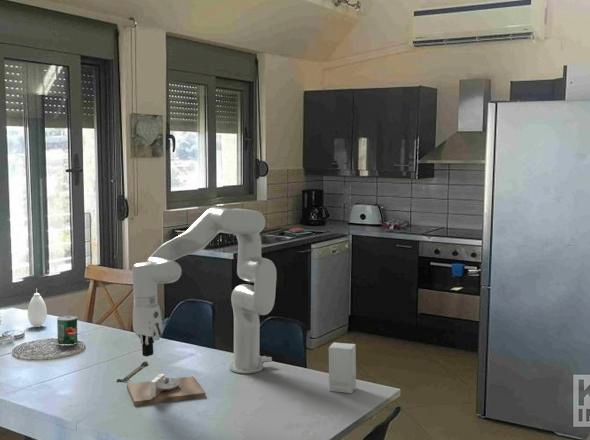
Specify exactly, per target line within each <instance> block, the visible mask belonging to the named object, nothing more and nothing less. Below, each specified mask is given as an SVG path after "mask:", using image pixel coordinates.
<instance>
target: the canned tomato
mask: <svg viewBox="0 0 590 440" xmlns="http://www.w3.org/2000/svg"><path fill="white" fill-rule="evenodd" d="M56 320H57V323H56V324H57V325H56V327H57V344H58V343H59V344H74V343H77V342H78V316H76V315H73V314H72V315H69V314H68V315H67V314H66V315H61V316H58V317H57V318H56ZM78 343H79V342H78ZM78 343H77V344H78Z"/></svg>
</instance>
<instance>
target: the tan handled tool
mask: <svg viewBox="0 0 590 440" xmlns="http://www.w3.org/2000/svg"><path fill="white" fill-rule="evenodd" d="M148 364H149V363H148V361H143V362H141V364H140V366H138V367H136V368H135V369H134V370H133V371H131V372H130V373H128V374H127V375H126V376H125V377H123V379H122V378H121V379H120V378H117V379H116V382H118V383H125V384H130V378H131V377H132V376H134V375H135V374H137V373H138V372H140V371H141V370H142V369H143V368H145V367H146V366H147V365H148Z"/></svg>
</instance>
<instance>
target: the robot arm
mask: <svg viewBox="0 0 590 440" xmlns="http://www.w3.org/2000/svg"><path fill="white" fill-rule="evenodd" d="M265 226H266V219H265V216H264V215H263V214H262V213H261V212H260V211H258V210H253V209H247V208H239V207H238V208H237V207H236V208H235V207H234V208H226V207H217V206H216V207H215V206H214V207H210V208H208V209H206V210H205V211H204V213H203V214H202V215H201V216H200V217H198V218H197V219H196V220H195V221H194V222H193V223H192V224H191V225H190V226H189V228H188V229H186V231H184V232H183V233H181V234H179V235H178V236H175V237H174V238H172V239H170V240H168V241H166V242H165V243H163V244H162V245H160V246H159V247H158V248H157V249H156V250H155V251H154V252H153V253H152V254H151V255H150V256H149V257H148V258H147V259H146V261H143V262H136V263H135V264H133V266H132V271H131V272H132V290H133V291H132V292H133V307H132V330H133V332H134V335H135V336H136V337H138V338H139V341H140V344H141V348H142V357H150V356H152V355H153V356H154V343H155V342H156V341H159V340H160V335H162V334H163V330H164V329H163V319H162V311H161V308H160V305H159V303H158V285H159V284H173V283H175V282H177V281H178V280H179V279H180V277H181V276H182V267H181V265H180V264H179V263H178V262H177V261H176V260H178V259H180V258H182V257H185V256H189V255H194V254H196V253H199V252H202V251H203V250H204V249H206V247H207V245H209V244H210V243H211V242H212V240H213V239H214V238H215V237H216V236H217V235H219V234H220V233H223V234H229V235H235V236H236V239H237V244H238V245H237V264H236V266H237V267H236V274H237V276H238V278H239V279H241V280H242V281H246V282H249V283H253V285H252V284H248V283H247V284H246V283H242V284H239V285H237V286H235V287H234V289H233V290H232V291H231V297H230V300H231V302H230V303H231V307H232V311H233V362H231V363H230V364H229V370H230V371H231V372H234V373H238V374H255V373H259V372H261V371H262V370H263V369H264V363H271V362H272V361H273V358H272V357H271V356H267V355H263V356H262V355H260V329H261V328H260V327H261V324H260V317H259V316H265V315H268V314H269V313H270V312H271V311H272V310H273V309H274V305H275V300H276V289H277V288H276V287H277V267H276V265H275V264H274V262H273V261H272V260H271V259H268V258H265V257H262V240H261V239H262V237H261V235H260V233H261V232H262V231H263V230H264V229H265Z"/></svg>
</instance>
